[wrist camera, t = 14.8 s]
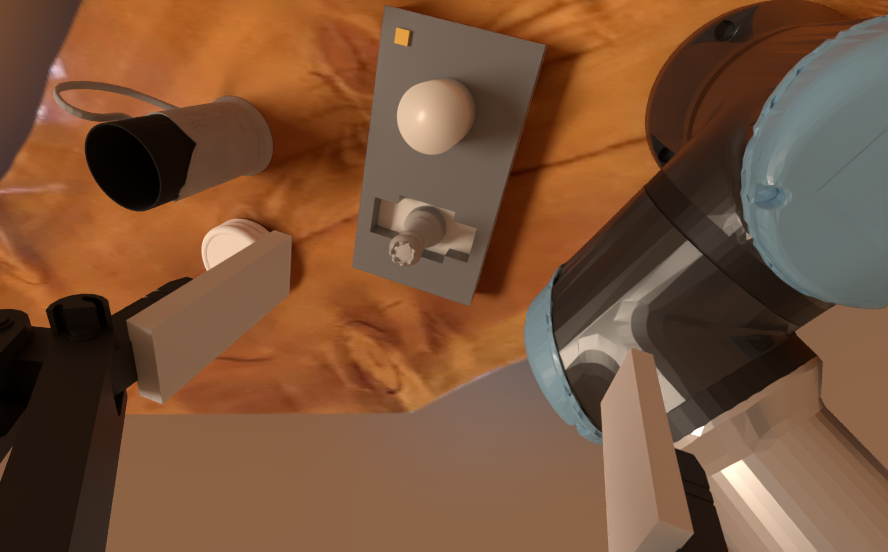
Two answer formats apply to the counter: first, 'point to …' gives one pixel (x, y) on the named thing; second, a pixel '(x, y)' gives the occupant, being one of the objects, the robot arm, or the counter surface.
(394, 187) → the grey panel with recess
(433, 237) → the rook chess piece
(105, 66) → the counter surface
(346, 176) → the counter surface
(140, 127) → the glass holder
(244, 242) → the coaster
